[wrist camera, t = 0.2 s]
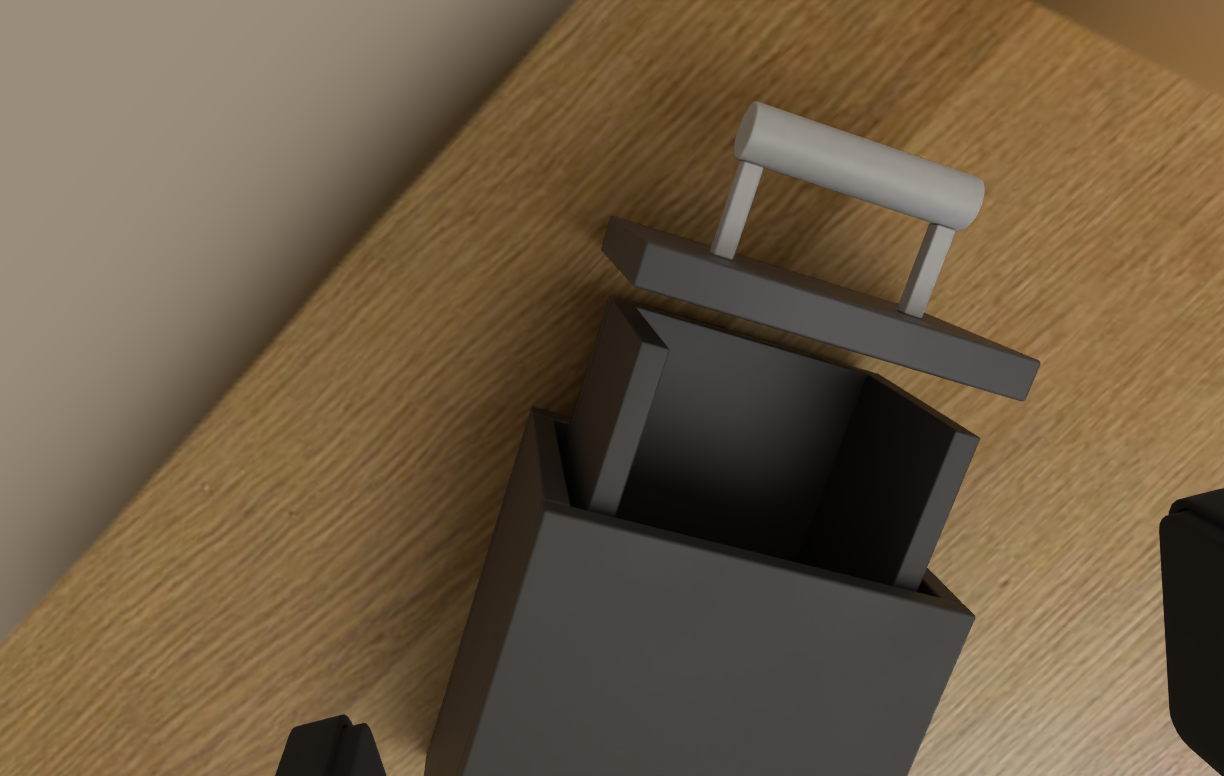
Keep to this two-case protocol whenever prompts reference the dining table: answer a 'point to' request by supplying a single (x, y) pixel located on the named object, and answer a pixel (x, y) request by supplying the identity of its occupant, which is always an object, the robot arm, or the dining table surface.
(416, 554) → the dining table surface
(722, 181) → the dining table surface
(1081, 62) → the dining table surface
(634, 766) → the dark grey drawer box
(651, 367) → the drawer front with handle
